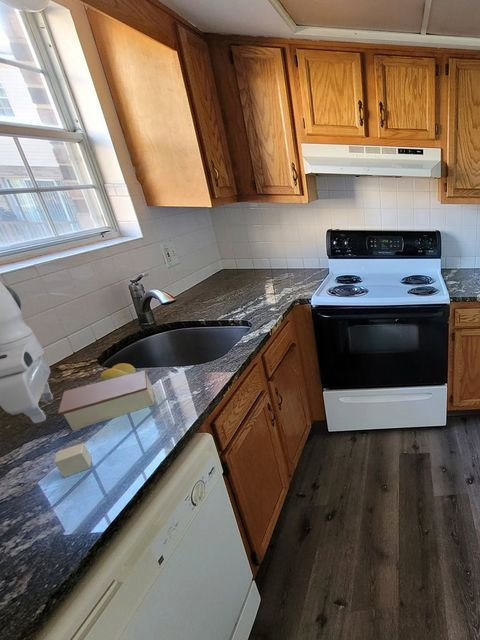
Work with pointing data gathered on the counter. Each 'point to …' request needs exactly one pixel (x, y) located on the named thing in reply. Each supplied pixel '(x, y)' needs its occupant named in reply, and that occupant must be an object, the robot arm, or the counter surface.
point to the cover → (102, 391)
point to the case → (110, 408)
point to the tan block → (73, 460)
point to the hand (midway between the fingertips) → (44, 410)
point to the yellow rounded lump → (117, 371)
